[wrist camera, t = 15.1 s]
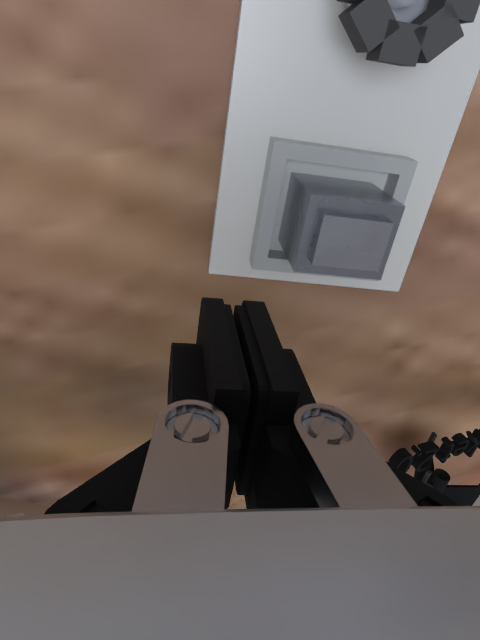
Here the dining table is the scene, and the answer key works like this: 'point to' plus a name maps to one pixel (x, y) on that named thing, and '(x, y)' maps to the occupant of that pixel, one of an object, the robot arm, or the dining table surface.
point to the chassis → (330, 129)
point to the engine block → (338, 226)
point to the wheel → (405, 30)
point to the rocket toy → (439, 477)
